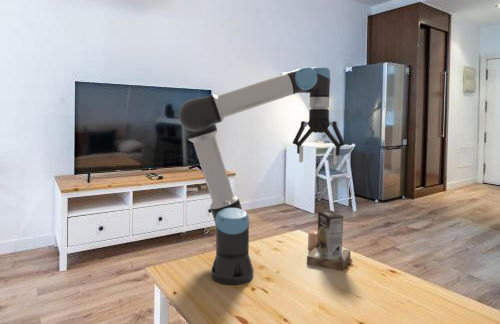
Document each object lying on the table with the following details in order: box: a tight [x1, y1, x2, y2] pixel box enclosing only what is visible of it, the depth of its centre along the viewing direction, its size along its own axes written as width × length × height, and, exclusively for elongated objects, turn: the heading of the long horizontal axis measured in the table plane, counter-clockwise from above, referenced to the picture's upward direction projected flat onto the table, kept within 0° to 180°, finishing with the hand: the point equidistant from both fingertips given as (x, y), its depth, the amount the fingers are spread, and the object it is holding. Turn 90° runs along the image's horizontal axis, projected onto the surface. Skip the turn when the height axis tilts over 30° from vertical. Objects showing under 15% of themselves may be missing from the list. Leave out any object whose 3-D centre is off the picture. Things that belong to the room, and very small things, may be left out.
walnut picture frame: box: [306, 245, 351, 271], centre depth 142 cm, size 14×14×3 cm
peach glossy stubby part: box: [307, 229, 318, 251], centre depth 155 cm, size 7×7×7 cm
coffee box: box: [317, 210, 344, 258], centre depth 141 cm, size 9×6×16 cm
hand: (317, 163), depth 141 cm, fingers open, 13 cm apart
